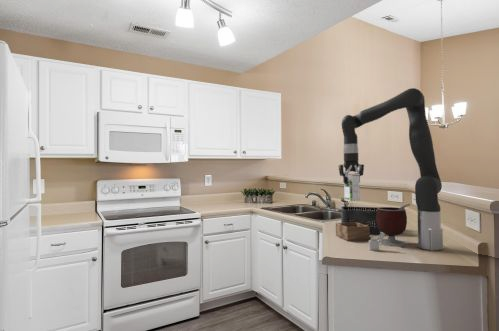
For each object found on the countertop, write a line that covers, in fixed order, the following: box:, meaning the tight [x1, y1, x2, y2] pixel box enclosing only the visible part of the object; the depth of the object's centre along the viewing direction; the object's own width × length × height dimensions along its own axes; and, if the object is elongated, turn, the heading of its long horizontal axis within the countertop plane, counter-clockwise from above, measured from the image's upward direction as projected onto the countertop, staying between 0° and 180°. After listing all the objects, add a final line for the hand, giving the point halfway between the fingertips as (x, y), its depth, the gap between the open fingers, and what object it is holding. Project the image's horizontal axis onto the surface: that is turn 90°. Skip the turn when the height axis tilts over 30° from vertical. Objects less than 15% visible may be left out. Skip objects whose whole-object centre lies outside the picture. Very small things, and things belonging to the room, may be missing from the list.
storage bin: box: [340, 206, 381, 235], centre depth 186 cm, size 29×19×13 cm
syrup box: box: [343, 173, 360, 202], centre depth 167 cm, size 6×6×14 cm
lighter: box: [368, 232, 386, 251], centre depth 141 cm, size 7×2×8 cm, turn 92°
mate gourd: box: [376, 203, 411, 247], centre depth 153 cm, size 16×14×20 cm
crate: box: [335, 222, 371, 242], centre depth 166 cm, size 13×13×7 cm
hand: (351, 183), depth 167 cm, fingers closed on syrup box, 6 cm apart
